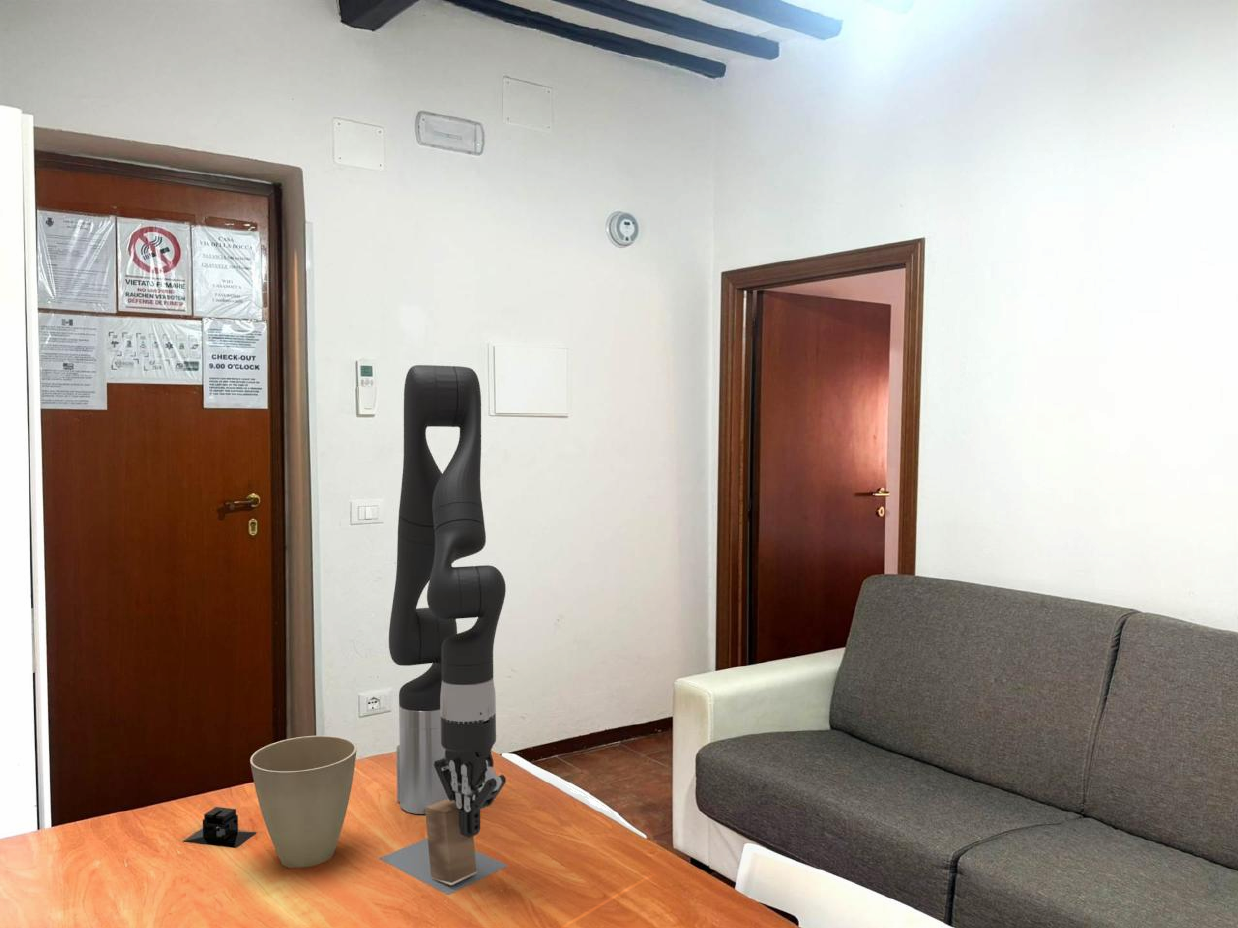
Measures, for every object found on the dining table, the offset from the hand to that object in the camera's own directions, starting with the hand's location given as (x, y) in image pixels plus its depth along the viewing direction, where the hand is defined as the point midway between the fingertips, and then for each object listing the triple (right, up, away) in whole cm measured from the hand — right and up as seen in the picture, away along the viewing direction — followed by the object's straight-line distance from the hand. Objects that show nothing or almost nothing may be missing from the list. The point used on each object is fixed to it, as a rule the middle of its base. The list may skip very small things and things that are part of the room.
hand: (470, 834), depth 132 cm
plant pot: (-26, -7, +9) cm, 29 cm away
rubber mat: (-5, -7, +7) cm, 12 cm away
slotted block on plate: (-41, -8, +16) cm, 45 cm away
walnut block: (-3, -7, +3) cm, 8 cm away
